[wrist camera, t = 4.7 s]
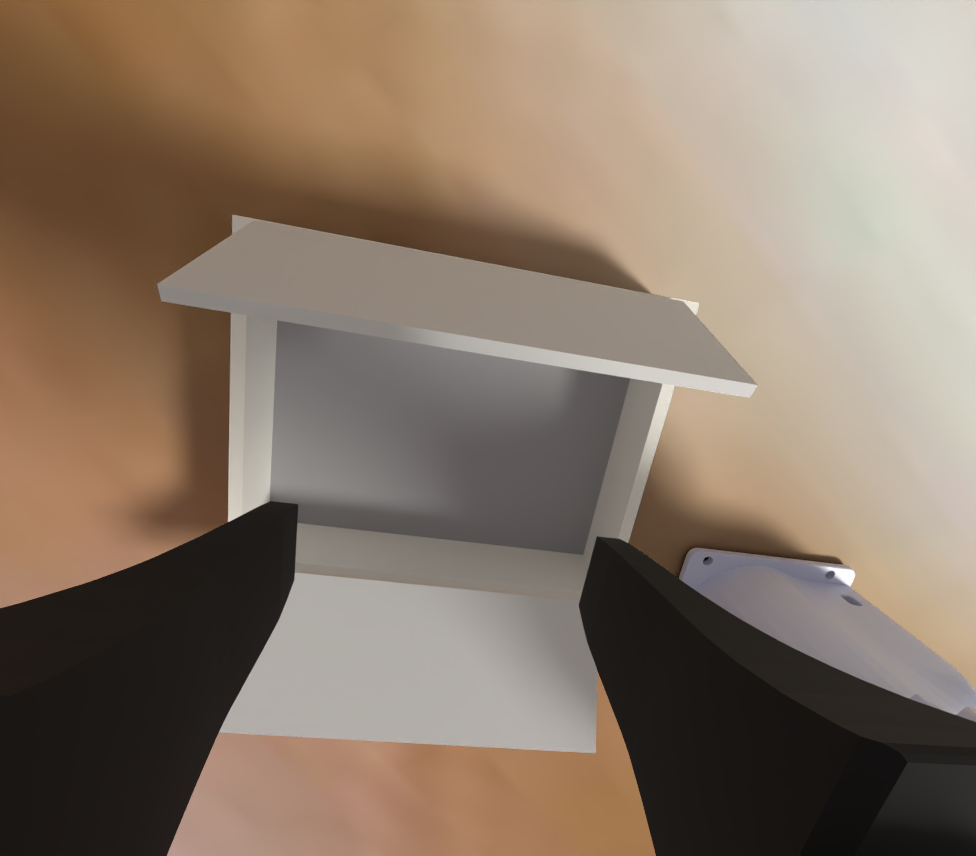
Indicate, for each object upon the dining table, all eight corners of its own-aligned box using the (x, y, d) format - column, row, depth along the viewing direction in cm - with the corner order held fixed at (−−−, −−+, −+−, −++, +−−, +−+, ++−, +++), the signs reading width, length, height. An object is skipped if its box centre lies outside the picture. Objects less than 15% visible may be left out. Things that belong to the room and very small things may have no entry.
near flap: (255, 233, 15) (253, 219, 14) (678, 311, 17) (683, 301, 16) (161, 301, 10) (157, 283, 10) (749, 397, 12) (757, 385, 12)
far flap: (598, 602, 20) (594, 602, 20) (243, 567, 18) (247, 567, 18) (595, 753, 18) (591, 749, 18) (201, 731, 16) (206, 727, 17)
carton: (658, 299, 20) (699, 302, 17) (587, 558, 24) (610, 604, 20) (272, 226, 18) (232, 214, 15) (261, 522, 22) (227, 566, 18)
